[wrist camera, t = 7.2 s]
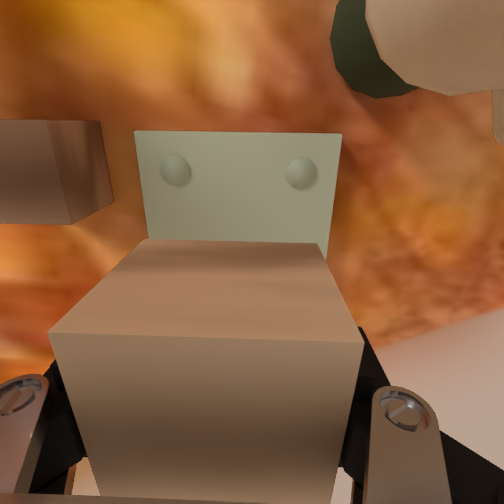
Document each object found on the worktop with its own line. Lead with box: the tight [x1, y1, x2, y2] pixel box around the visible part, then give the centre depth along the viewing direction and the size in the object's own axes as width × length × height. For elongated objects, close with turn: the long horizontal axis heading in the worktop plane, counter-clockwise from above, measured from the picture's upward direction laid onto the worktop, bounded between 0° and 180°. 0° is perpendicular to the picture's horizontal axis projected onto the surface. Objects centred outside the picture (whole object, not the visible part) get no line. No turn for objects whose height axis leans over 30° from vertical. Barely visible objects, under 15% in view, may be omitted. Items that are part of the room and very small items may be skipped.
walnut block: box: [0, 119, 114, 225], centre depth 16 cm, size 5×5×5 cm
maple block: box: [47, 239, 365, 504], centre depth 9 cm, size 6×6×5 cm
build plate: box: [134, 130, 342, 261], centre depth 20 cm, size 12×12×1 cm
